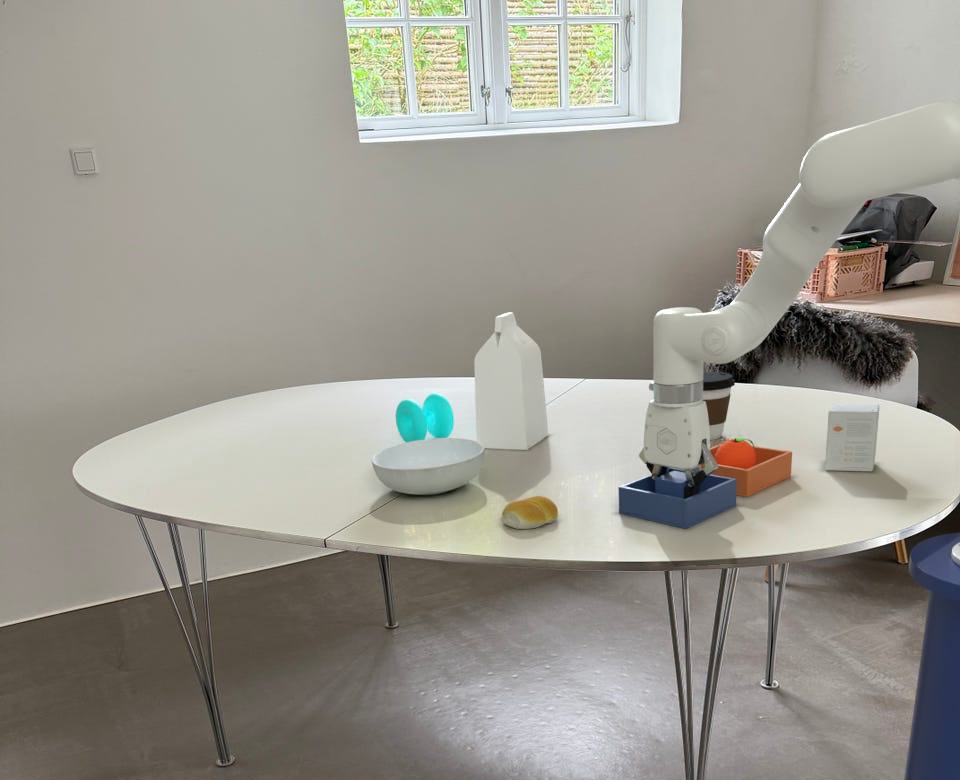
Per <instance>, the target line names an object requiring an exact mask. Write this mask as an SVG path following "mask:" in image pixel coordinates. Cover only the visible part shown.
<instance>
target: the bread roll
mask: <svg viewBox="0 0 960 780" xmlns="http://www.w3.org/2000/svg"><path fill="white" fill-rule="evenodd" d="M558 516H559V511H558V506H557V504H556V503H555V502H553V501H552V500H551V499H550V498H548V497H546V496H542V495H536V496H531V497H526V498H524V499H520V500H519V499H518V500H515V501H511V502H509V503H508V504H506V506H505V507H504V509H503V510H502V512H501V520H502V522H503V524H504V525H505V526H508V527H510V528H513V529H517V530H531V529H536V528H540V527H542V526H544V525H546V524H552V523H553V522H555V521H556V520H557V518H558Z"/></svg>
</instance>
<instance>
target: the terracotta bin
mask: <svg viewBox="0 0 960 780" xmlns="http://www.w3.org/2000/svg"><path fill="white" fill-rule="evenodd" d="M723 443H724V442H722V443H719V444H717V445H713V446H712V447H710V452H711V454H712V456H713V457H714V459H715V454H716V452H717V450H718V448H719V447H720V446H721V445H722V444H723ZM751 446H752V447H753V445H751ZM753 449H754V451H755V454H756V461H755V465H754V466H753V467H751V468H749V469H742V468H736V467H731V466H725V465H719V464H718V469H717V470H715V471H714V472H713V473H711V474H712V475H718V476H723V477H729V478H734V479H737V490H736V496H738V497H739V496H740V497H744V498H748V497H750V496H752V495H755V494H757V493H760V492H761V491H763V490H766V489H768V488H770V487H772V486H774V485H777V484H778V483H781V482H783V481H785V480H788V479H790V478H791V477H792V465H793V464H792V463H793V451H790V450H783V449H778V448H769V447H763V446H757V445H754V447H753ZM704 467H705V465H704V464H701V469H703V468H704Z"/></svg>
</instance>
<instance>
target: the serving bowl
mask: <svg viewBox="0 0 960 780" xmlns="http://www.w3.org/2000/svg"><path fill="white" fill-rule="evenodd" d="M485 451H486V448H484V446H483V445H482V444H481V443H479V442H477V440H475V439H470V438H459V437H447V438H425V439H424V440H418V441H412V442H407V443H406V442H403V443H399V444H395V445H391V446H389V447H387V448H385V449H382V450H380V451H378V452H376V453H375V454H374V455H373V456H372V458H371V465H372V468H373V471H374V473H375V476H376V477H377V478H378V481H380V483H382V484H383V485H384V486H385V487H387V488H388V489H390V490H392V491H395V492H398V493H402V494H408V495H415V496H433V495H441V494H444V493H447V492H449V491H450V492H451V491H452V490H455V489H458V488H461V487H463V486H465V485H466V484H468V483H469V482H471V481H472V480H473V479H475V478H476V476H477V475H478V474H479V472H480V471H481V470H482V467H483V465H484V461H485Z"/></svg>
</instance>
